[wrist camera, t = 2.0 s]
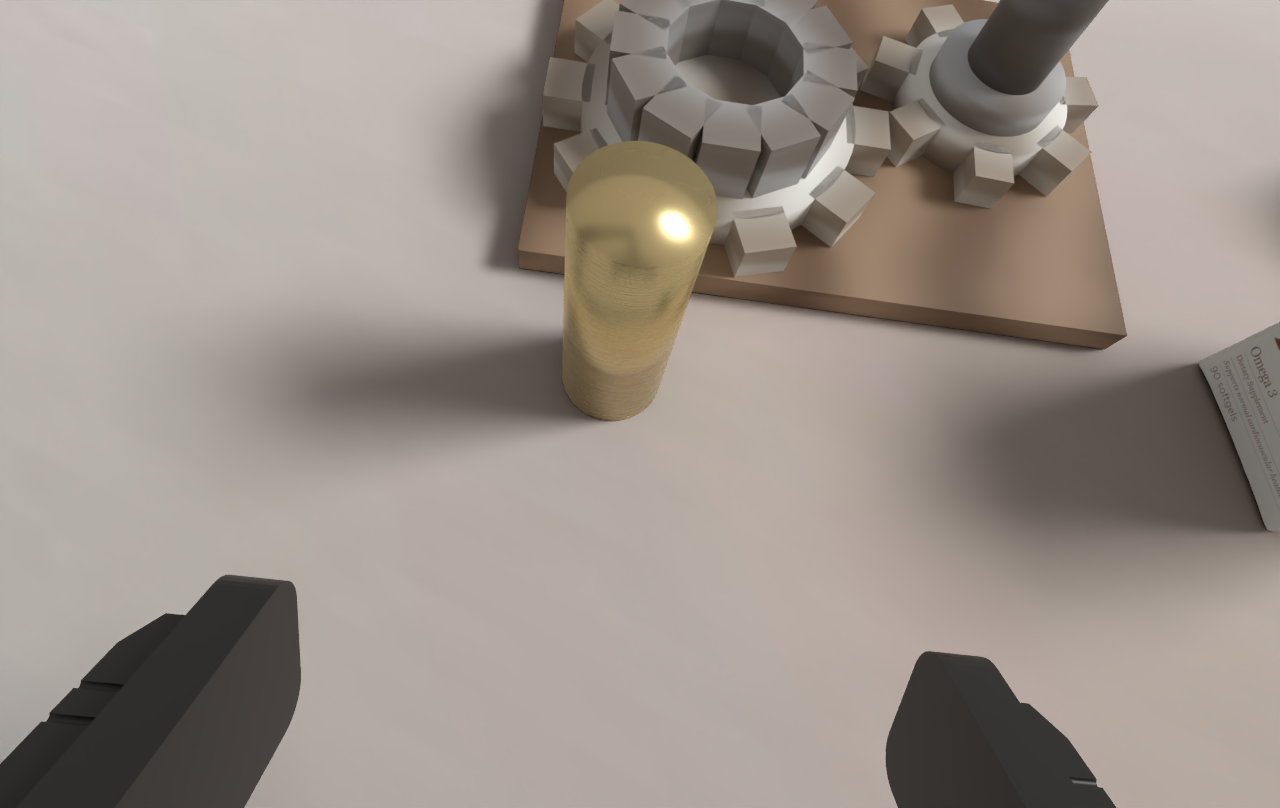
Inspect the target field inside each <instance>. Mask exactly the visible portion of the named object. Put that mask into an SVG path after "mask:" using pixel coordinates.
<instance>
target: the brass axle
mask: <svg viewBox="0 0 1280 808" xmlns="http://www.w3.org/2000/svg"><path fill="white" fill-rule="evenodd" d="M717 214H718V203H717V198H716V194H715V191H714V188H713V186H712V184H711V182H710V180H709V179H708V177H707V176H706V174H705V173H704V172H703V170H702V169H701V168H700V167H699V166H698V165H697V164H696V163H695V162H693V161H692V160H691V159H690V158H688V157H687V156H685V155H684V154H682V153H680V152H678V151H677V150H674V149H672V148H670V147H667V146H664V145H661V144H657V143H652V142H646V141H625V142H618V143H614V144H610V145H607V146H605V147H602V148H600V149H598V150H596V151H594V152H593V153H591V154H590V155H588V156H587V157H586V158H585V159H584V160H583V161H582V162H581V163H580V164H579V165H578V166H577V167H576V169H575V171H574V172H573V174H572V176H571V178H570V181H569V184H568V188H567V197H566V234H565V274H564V314H563V354H562V381H563V385H564V389H565V391H566V393H567V395H568V397H569V398H570V400H571V401H572V403H573V404H574V405H575V406H576V407H577V408H579V409H580V410H581V411H582V412H584V413H586V414H587V415H590V416H592V417H594V418H597V419H601V420H608V421H617V420H624V419H627V418H631V417H633V416H635V415H637V414H639V413H640V412H642V411H643V410H644V409H645V408H647V407H648V406H649V404H650V403H651V402H652V400H653V399H654V397H655V395H656V393H657V390H658V388H659V385H660V382H661V379H662V376H663V373H664V370H665V368H666V365H667V362H668V359H669V356H670V353H671V350H672V347H673V345H674V342H675V339H676V336H677V333H678V330H679V327H680V325H681V322H682V319H683V316H684V313H685V310H686V307H687V304H688V302H689V299H690V296H691V293H692V290H693V287H694V284H695V282H696V279H697V276H698V273H699V270H700V267H701V264H702V261H703V259H704V256H705V253H706V250H707V247H708V244H709V241H710V239H711V236H712V233H713V230H714V227H715V224H716V220H717Z"/></svg>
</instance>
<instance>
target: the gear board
mask: <svg viewBox="0 0 1280 808" xmlns="http://www.w3.org/2000/svg"><path fill="white" fill-rule="evenodd" d="M1108 1H1109V0H1000V2H999V3H995V2H990V1H984V0H564V4H563V10H562V15H561V20H560V26H559V31H558V36H557V42H556V47H555V52H554V58H553V57H550V59H549V65H548V70H547V75H546V80H545V86H544V91H543V117H542V122H541V127H540V133H539V138H538V144H537V149H536V154H535V160H534V165H533V170H532V176H531V181H530V186H529V192H528V197H527V202H526V208H525V213H524V219H523V224H522V229H521V235H520V240H519V245H518V260H519V268H524V269H531V270H538V271H545V272H552V273H560V274H565V234H566V197H567V188H568V184H569V181H570V178H571V176H572V174H573V172H574V171H575V169H576V167H577V166H578V165H579V164H580V163H581V162H582V161H583V160H584V159H585V158H586V157H587V156H588V155H590V154H591V153H593V152H594V151H596V150H598V149H600V148H602V147H605V146H607V145H610V144H614V143H618V142H625V141H646V142H652V143H657V144H661V145H664V146H667V147H670V148H672V149H674V150H677V151H678V152H680V153H682V154H684V155H685V156H687V157H688V158H690V159H691V160H692V161H693V162H695V163H696V164H697V165H698V166H699V167H700V168H701V169H702V170H703V172H704V173H705V174H706V176H707V177H708V179H709V180H710V182H711V184H712V186H713V188H714V191H715V194H716V198H717V203H718V214H717V220H716V224H715V227H714V230H713V233H712V236H711V239H710V241H709V244H708V247H707V250H706V253H705V256H704V259H703V261H702V264H701V267H700V270H699V273H698V276H697V279H696V282H695V284H694V287H693V290H692V292H697V293H704V294H711V295H718V296H725V297H733V298H740V299H747V300H754V301H761V302H769V303H776V304H783V305H790V306H797V307H805V308H812V309H819V310H826V311H833V312H841V313H848V314H855V315H862V316H869V317H877V318H884V319H891V320H898V321H905V322H913V323H920V324H927V325H934V326H942V327H949V328H956V329H963V330H970V331H978V332H985V333H992V334H999V335H1006V336H1014V337H1021V338H1028V339H1035V340H1042V341H1050V342H1057V343H1064V344H1071V345H1078V346H1086V347H1093V348H1100V349H1106V348H1108V347H1109V346H1111V345H1113V344H1114V343H1116V342H1117V341H1119V340H1121V339H1122V338H1124V337H1126V336H1127V333H1126V328H1125V323H1124V318H1123V313H1122V308H1121V304H1120V299H1119V294H1118V289H1117V284H1116V279H1115V274H1114V269H1113V264H1112V259H1111V254H1110V249H1109V244H1108V240H1107V235H1106V230H1105V225H1104V220H1103V215H1102V210H1101V205H1100V200H1099V195H1098V190H1097V185H1096V180H1095V176H1094V171H1093V166H1092V161H1091V156H1090V153H1091V151H1090V150H1089V146H1088V141H1087V136H1086V131H1085V126H1084V121H1085V119H1086V118H1087V117H1088V116H1089V115H1090V114H1091V113H1092V112H1093V111H1094V110H1095V109H1096V108H1097V107H1098V103H1097V101H1096V99H1095V96H1094V94H1093V91H1092V89H1091V87H1090V84H1089V82H1088V80H1087V77H1074V72H1073V67H1072V62H1071V57H1070V52H1069V49H1070V48H1071V46H1072V45H1073V44H1074V43H1075V41H1076V40H1077V39H1078V38H1079V36H1080V35H1081V34H1082V33H1083V31H1084V30H1085V29H1086V28H1087V27H1088V25H1089V24H1090V23H1091V22H1092V20H1093V19H1094V18H1095V17H1096V15H1097V14H1098V13H1099V12H1100V10H1101V9H1102V8H1103V7H1104V5H1105V4H1106V3H1107V2H1108Z"/></svg>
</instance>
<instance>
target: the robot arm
mask: <svg viewBox="0 0 1280 808" xmlns="http://www.w3.org/2000/svg"><path fill="white" fill-rule="evenodd" d="M300 682H301V668H300V649H299V630H298V611H297V595H296V590H295V587H294V585H293V583H292V582H290V581H283V580H273V579H264V578H255V577H245V576H236V575H225V576H222V577H220V578H219V579H218V580H217V581H216V582H215V583H214V584H213V585H212V586H211V587H210V588H209V589H208V590H207V592H206V593H205V594H204V595H203V596H202V597H201V598H200V600H199V601H198V602H197V603H196V604H195V605H194V606H193V607H192V609H191V610H190V611H189V612H188V613H187V614H186V615H176V614H167V613H166V614H164V615H162V616H161V617H159V618H157V619H156V620H154V621H152V622H151V623H149V624H148V625H146V626H144V627H143V628H141V629H139V630H138V631H136V632H134V633H133V634H131V635H129V636H128V637H126V638H124V639H123V640H121V641H119V642H118V643H117V644H116V645H115V646H114V647H113V648H112V649H111V650H110V651H109V652H108V653H107V654H106V655H105V656H104V657H103V658H102V659H101V660H100V661H99V662H98V663H97V664H96V665H95V666H94V667H93V669H92V670H91V671H90V672H89V673H88V674H87V675H86V676H85V677H84V678H83V679H82V680H81V684H80V686H79V688H78V689H77V688H73V689H72V690H71V691H70V692H69V693H68V694H67V696H66V697H65V698H64V699H63V700H62V701H61V702H60V703H59V704H58V705H57V706H56V707H55V708H54V709H53V710H52V711H51V712H50V716H49V718H48V720H47V721H46V722H41V723H40V724H39V725H38V726H37V727H36V728H35V729H34V730H33V731H32V732H31V733H30V734H29V735H28V736H27V737H26V738H25V739H24V740H23V741H22V742H21V743H20V744H19V745H18V746H17V747H16V748H15V750H14V751H13V752H12V753H11V754H10V755H9V756H8V757H7V758H6V759H5V760H4V761H3V762H2V763H1V764H0V808H244V807H245V805H246V803H247V801H248V800H249V798H250V796H251V794H252V792H253V790H254V789H255V787H256V785H257V783H258V781H259V780H260V778H261V776H262V774H263V772H264V771H265V769H266V767H267V765H268V763H269V762H270V760H271V758H272V756H273V754H274V752H275V751H276V749H277V747H278V745H279V743H280V742H281V740H282V738H283V736H284V734H285V733H286V731H287V729H288V727H289V724H290V722H291V719H292V717H293V714H294V711H295V708H296V704H297V700H298V696H299V690H300ZM886 768H887V775H888V780H889V784H890V787H891V790H892V793H893V796H894V798H895V801H896V803H897V806H898V808H1116V806H1115V805H1114V804H1113V802H1112V801H1111V799H1110V798H1109V797H1108V795H1107V794H1106V792H1105V791H1104V789H1103V788H1099V787H1097V784H1096V780H1097V779H1096V778H1095V777H1094V775H1093V774H1092V772H1091V771H1090V769H1089V768H1088V767H1087V765H1086V764H1085V762H1084V761H1083V759H1082V758H1081V757H1080V755H1079V754H1078V752H1077V751H1076V749H1075V748H1074V747H1073V745H1072V744H1071V742H1070V741H1069V740H1068V738H1066V737H1065V736H1064V735H1063V734H1062V733H1061V732H1060V731H1059V730H1058V729H1056V728H1055V727H1054V726H1053V725H1052V724H1051V723H1050V722H1049V721H1048V720H1046V719H1045V718H1044V717H1043V716H1042V715H1041V714H1040V713H1039V712H1038V711H1036V710H1035V709H1034V708H1033V707H1032V706H1031V705H1030V704H1027V703H1020V702H1019V701H1018V699H1017V698H1016V696H1015V695H1014V693H1013V692H1012V690H1011V689H1010V687H1009V686H1008V684H1007V683H1006V681H1005V680H1004V678H1003V677H1002V675H1001V674H1000V672H999V671H998V669H997V668H996V666H995V665H994V664H993V663H992V662H991V661H990V660H988V659H987V658H984V657H978V656H969V655H959V654H950V653H941V652H931V651H928V652H924V653H923V654H922V655H921V656H920V657H919V658H918V660H917V662H916V664H915V666H914V669H913V672H912V674H911V677H910V680H909V682H908V685H907V688H906V690H905V693H904V695H903V698H902V701H901V703H900V706H899V709H898V711H897V714H896V716H895V719H894V722H893V724H892V727H891V730H890V732H889V735H888V739H887V745H886Z"/></svg>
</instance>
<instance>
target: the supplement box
mask: <svg viewBox="0 0 1280 808" xmlns="http://www.w3.org/2000/svg"><path fill="white" fill-rule="evenodd" d="M1199 363H1200V368H1201V369H1202V370H1203V373H1204V375H1205V377H1206V379H1207V381H1208V383H1209V385H1210V387H1211V389H1212V392H1213V394H1214V396H1215V399H1216V401H1217V403H1218V406H1219V408H1220V410H1221V413H1222V415H1223V417H1224V420H1225V422H1226V425H1227V427H1228V429H1229V432H1230V434H1231V437H1232V440H1233V442H1234V445H1235V447H1236V450H1237V453H1238V455H1239V457H1240V460H1241V462H1242V465H1243V468H1244V471H1245V473H1246V475H1247V478H1248V480H1249V483H1250V485H1251V488H1252V491H1253V493H1254V496H1255V499H1256V501H1257V504H1258V507H1259V510H1260V514H1261V516H1262V519H1263V522H1264V524H1265V526H1266V529H1267V530H1268V531H1273V532H1276V531H1280V322H1279V323H1277V324H1275V325H1273V326H1270V327H1268V328H1266V329H1264V330H1262V331H1260V332H1258V333H1256V334H1254V335H1252V336H1250V337H1248V338H1246V339H1244V340H1242V341H1240V342H1238V343H1236V344H1234V345H1232V346H1230V347H1228V348H1226V349H1224V350H1222V351H1220V352H1217V353H1215V354H1213V355H1211V356H1209V357H1207V358H1205V359H1203V360H1201V361H1200V362H1199Z"/></svg>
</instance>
